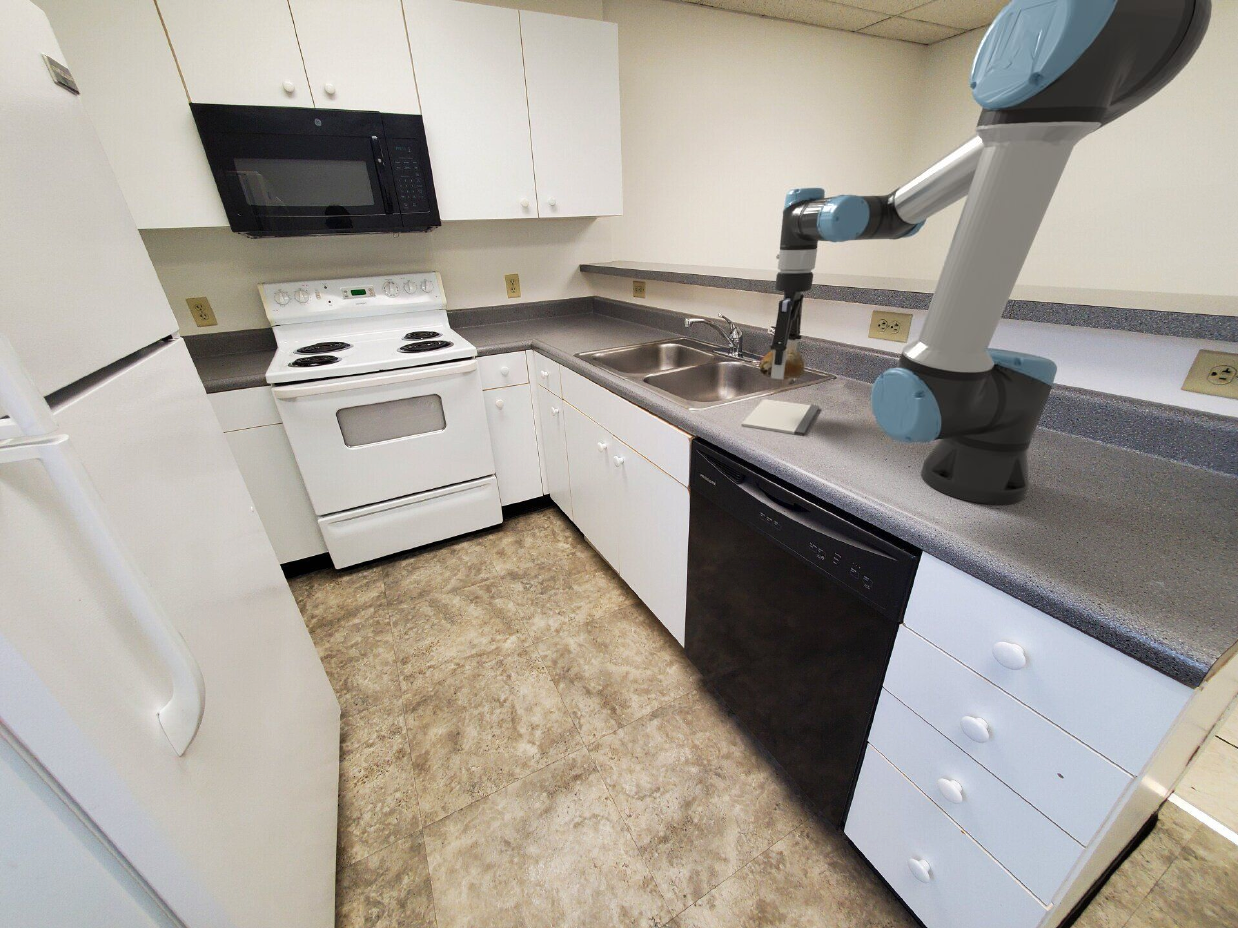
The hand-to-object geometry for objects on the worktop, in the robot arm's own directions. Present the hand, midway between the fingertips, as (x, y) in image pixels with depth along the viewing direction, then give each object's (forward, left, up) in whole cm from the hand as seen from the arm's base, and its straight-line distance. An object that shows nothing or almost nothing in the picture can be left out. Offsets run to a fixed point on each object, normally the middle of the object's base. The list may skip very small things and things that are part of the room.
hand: (782, 372), depth 112 cm
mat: (0, -1, -11) cm, 11 cm away
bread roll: (0, 0, -1) cm, 1 cm away
